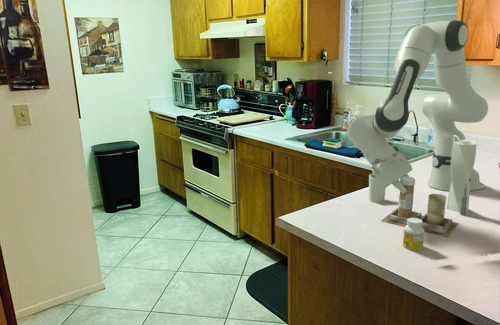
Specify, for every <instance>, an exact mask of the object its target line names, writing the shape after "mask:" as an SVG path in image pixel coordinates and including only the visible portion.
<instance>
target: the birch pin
mask: <svg viewBox="0 0 500 325" xmlns="http://www.w3.org/2000/svg"><path fill="white" fill-rule="evenodd" d="M446 201H447V196H445V195H444V194H441V193H430V194H429V195H428V201H427V211H426V214H427V220H426V223H429V224H433V225H438V226H442V227H443V223H444V218H445V212H446V205H447V202H446Z"/></svg>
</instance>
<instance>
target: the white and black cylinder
mask: <svg viewBox="0 0 500 325" xmlns="http://www.w3.org/2000/svg"><path fill="white" fill-rule="evenodd" d="M386 188H387V187H386ZM386 188H384V187H383V186H382V185H381V184H380V183H379V182H378V180H377V179H376V177H375V176H374V174H373V173H370V174H369V175H368V200H369V201H370V202H372V203H377V204H379V203H380V204H381V203H384V202H385V199H386V197H385V196H386Z"/></svg>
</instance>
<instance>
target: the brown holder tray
mask: <svg viewBox="0 0 500 325" xmlns="http://www.w3.org/2000/svg"><path fill="white" fill-rule="evenodd" d="M398 210H399V207H397V208H395V209H394V210H393V211H391V212H390V213H389V214H387V215H386V216H385V217H384V218H383V219H382V220H380V222H382V223H386V224H391V225H394V226H398V227H403V228H405V226H406V225H407V219H409V218H403V217H399V216H398ZM411 218H418V219H420V220H422V227H423V229H424V233H428V234H432V235H437V236H441V237H445V238H449V237H450V236H451V234H452V233H453V232H454V231H455V230H456V228H457V227H458V226H459V224H460V222H459V223H458V222H454V221H453V219H452V218H446V217H444V223H443V227H442V226H438V225H433V224H429V223H426V220H427V213H425V214H424V215H423V214H422V212H419V211H415V210H412V217H411Z"/></svg>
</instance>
